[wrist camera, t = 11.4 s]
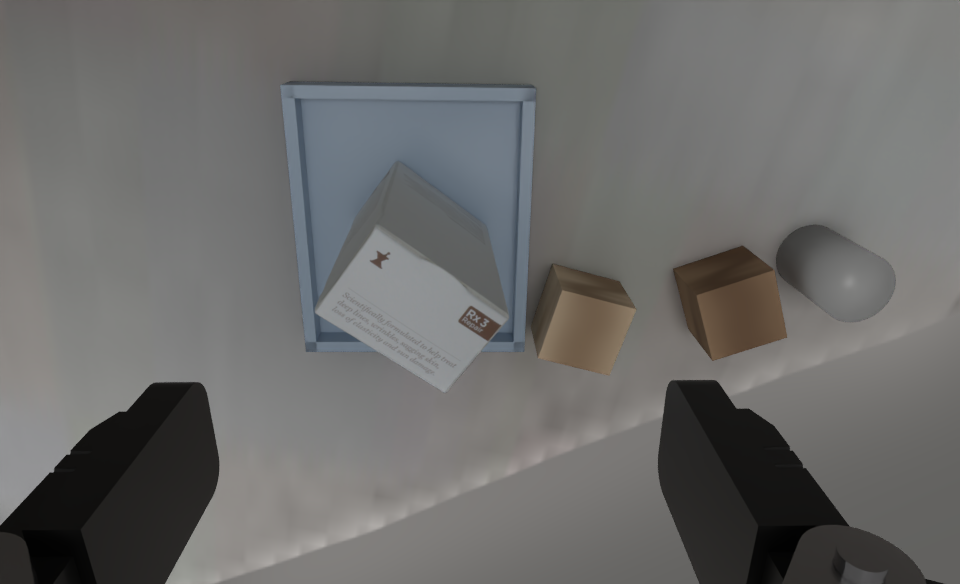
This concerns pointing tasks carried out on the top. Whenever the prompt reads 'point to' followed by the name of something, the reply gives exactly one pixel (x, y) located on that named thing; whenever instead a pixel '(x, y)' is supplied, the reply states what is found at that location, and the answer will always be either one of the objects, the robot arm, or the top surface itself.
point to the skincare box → (416, 280)
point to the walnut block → (731, 302)
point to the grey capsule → (836, 273)
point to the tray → (426, 151)
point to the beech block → (581, 320)
